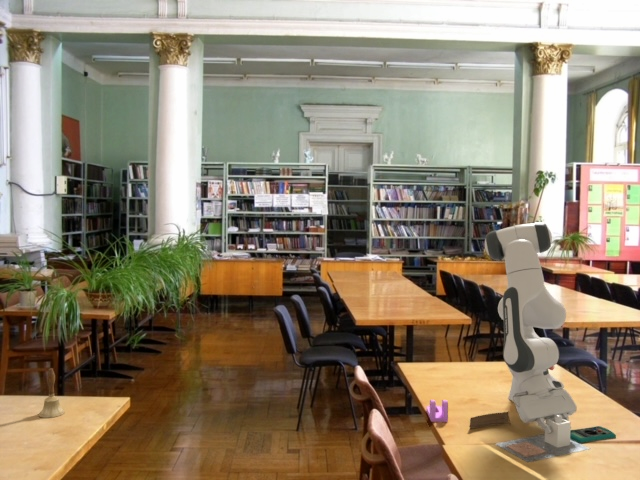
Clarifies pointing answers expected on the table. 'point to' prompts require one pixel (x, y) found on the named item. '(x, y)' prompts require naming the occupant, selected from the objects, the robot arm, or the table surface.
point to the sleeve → (558, 433)
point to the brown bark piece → (489, 420)
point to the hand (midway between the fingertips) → (559, 431)
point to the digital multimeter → (591, 434)
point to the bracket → (438, 411)
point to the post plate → (539, 447)
